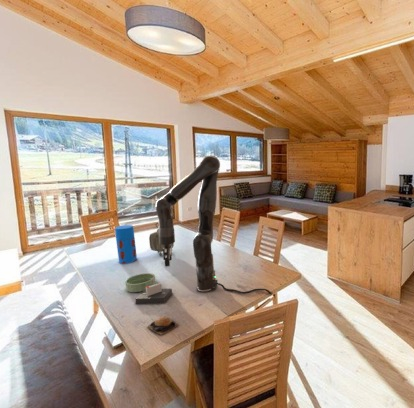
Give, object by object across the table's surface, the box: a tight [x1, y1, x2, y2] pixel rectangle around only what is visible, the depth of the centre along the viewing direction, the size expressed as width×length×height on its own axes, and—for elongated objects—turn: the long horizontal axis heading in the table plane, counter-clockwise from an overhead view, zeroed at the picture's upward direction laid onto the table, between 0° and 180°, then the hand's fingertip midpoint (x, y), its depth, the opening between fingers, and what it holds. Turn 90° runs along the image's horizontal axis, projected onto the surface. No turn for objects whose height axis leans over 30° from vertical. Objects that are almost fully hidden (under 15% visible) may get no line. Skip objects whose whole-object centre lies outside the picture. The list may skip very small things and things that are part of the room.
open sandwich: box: [147, 316, 178, 336], centre depth 122 cm, size 11×8×4 cm
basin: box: [124, 272, 157, 293], centre depth 159 cm, size 15×15×5 cm
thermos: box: [114, 224, 138, 265], centre depth 195 cm, size 11×11×25 cm
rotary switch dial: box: [135, 288, 173, 305], centre depth 146 cm, size 14×11×3 cm
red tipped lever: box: [146, 282, 163, 296], centre depth 145 cm, size 7×2×5 cm, turn 139°
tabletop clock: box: [148, 222, 175, 257], centre depth 207 cm, size 14×9×25 cm, turn 79°
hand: (168, 263), depth 149 cm, fingers open, 8 cm apart
